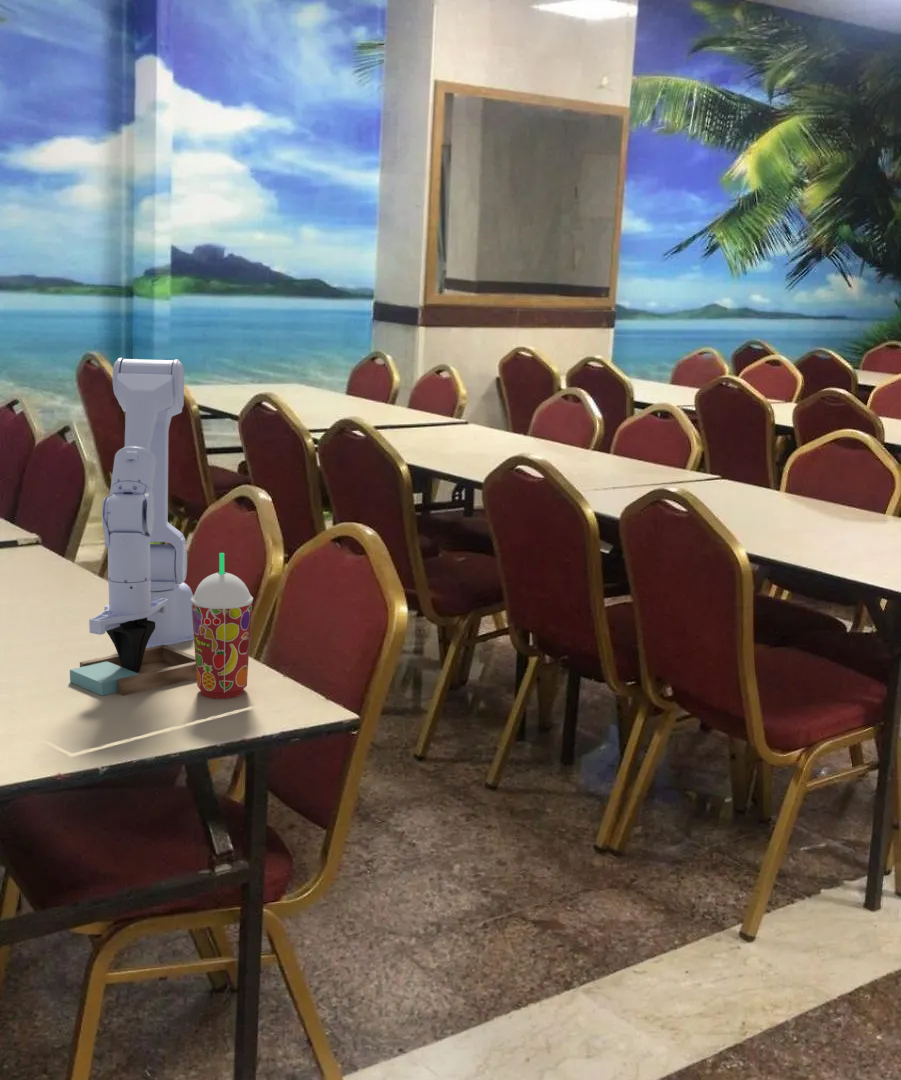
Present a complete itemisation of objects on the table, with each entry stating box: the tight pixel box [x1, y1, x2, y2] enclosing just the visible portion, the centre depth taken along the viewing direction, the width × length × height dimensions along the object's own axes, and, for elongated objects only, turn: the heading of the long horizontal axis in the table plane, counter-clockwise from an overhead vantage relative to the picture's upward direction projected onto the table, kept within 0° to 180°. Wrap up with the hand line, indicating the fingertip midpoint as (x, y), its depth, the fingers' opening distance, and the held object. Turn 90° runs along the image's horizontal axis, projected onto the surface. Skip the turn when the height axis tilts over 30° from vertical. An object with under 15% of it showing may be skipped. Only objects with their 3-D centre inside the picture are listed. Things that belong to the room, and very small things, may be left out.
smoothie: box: [191, 552, 254, 700], centre depth 182 cm, size 8×8×20 cm
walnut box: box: [79, 645, 197, 696], centre depth 189 cm, size 14×11×2 cm
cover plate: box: [69, 661, 138, 697], centre depth 185 cm, size 6×8×2 cm
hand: (131, 671), depth 188 cm, fingers closed
